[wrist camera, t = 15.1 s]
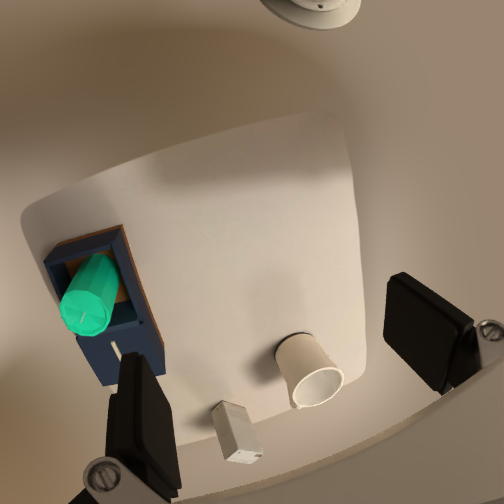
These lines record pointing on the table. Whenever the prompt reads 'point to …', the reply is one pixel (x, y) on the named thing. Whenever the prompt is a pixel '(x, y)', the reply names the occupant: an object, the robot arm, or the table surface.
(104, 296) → the candle
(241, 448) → the cosmetic box
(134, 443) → the robot arm
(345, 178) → the table surface
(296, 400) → the mug
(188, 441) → the table surface
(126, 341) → the navy slotted box
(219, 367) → the table surface
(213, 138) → the table surface
